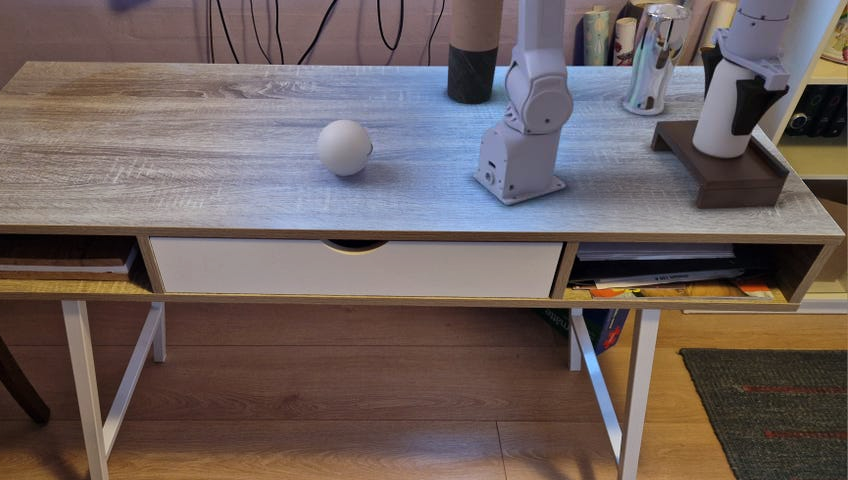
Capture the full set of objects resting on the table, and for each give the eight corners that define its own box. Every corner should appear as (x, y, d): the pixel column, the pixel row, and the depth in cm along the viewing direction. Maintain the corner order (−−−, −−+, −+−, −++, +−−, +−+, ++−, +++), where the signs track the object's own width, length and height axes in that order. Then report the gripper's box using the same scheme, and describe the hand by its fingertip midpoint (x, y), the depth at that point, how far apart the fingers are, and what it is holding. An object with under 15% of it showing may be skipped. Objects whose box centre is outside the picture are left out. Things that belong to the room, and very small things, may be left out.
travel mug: (487, 107, 110) (502, -25, 98) (440, 101, 112) (449, -31, 100) (496, 88, 116) (512, -40, 104) (451, 82, 118) (461, -45, 105)
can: (720, 132, 95) (750, 46, 88) (755, 155, 91) (790, 65, 83) (681, 140, 94) (708, 52, 86) (714, 163, 89) (745, 73, 81)
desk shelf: (698, 208, 88) (710, 174, 85) (649, 146, 101) (658, 114, 98) (775, 205, 89) (790, 171, 86) (717, 144, 101) (728, 112, 98)
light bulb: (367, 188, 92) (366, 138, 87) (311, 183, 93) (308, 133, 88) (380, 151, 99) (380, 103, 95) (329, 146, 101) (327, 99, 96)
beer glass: (668, 118, 107) (697, 20, 98) (621, 114, 108) (645, 16, 99) (663, 99, 113) (689, 4, 103) (618, 95, 114) (640, 1, 104)
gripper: (833, 34, 76) (786, 146, 84) (764, -9, 87) (729, 94, 95) (770, 35, 75) (729, 148, 84) (709, -8, 87) (679, 96, 95)
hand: (725, 120), depth 90 cm, fingers open, 7 cm apart
